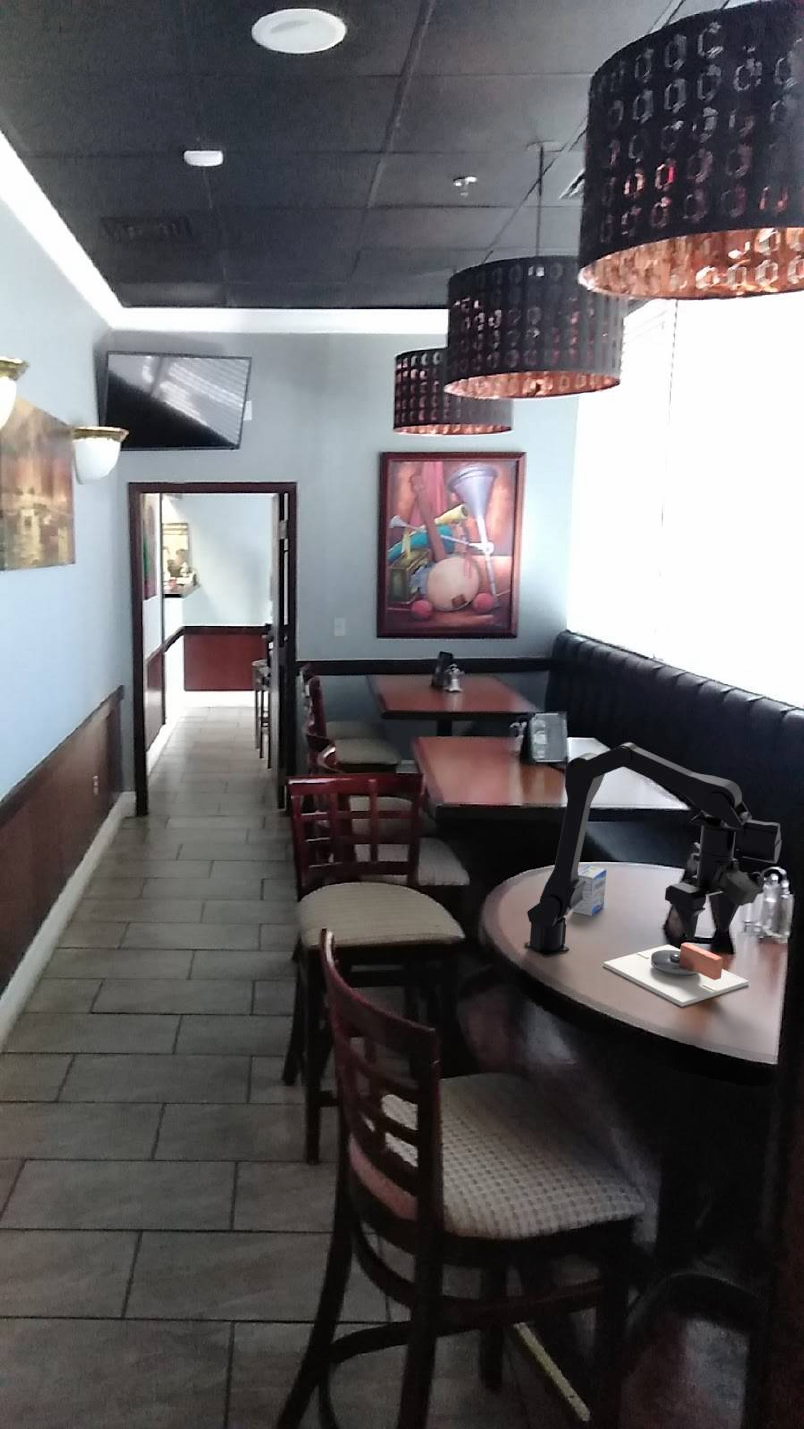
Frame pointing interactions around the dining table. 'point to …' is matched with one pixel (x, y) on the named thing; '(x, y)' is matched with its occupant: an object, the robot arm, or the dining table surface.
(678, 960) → the handwheel
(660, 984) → the wheel board
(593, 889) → the medicine box
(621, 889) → the dining table surface
